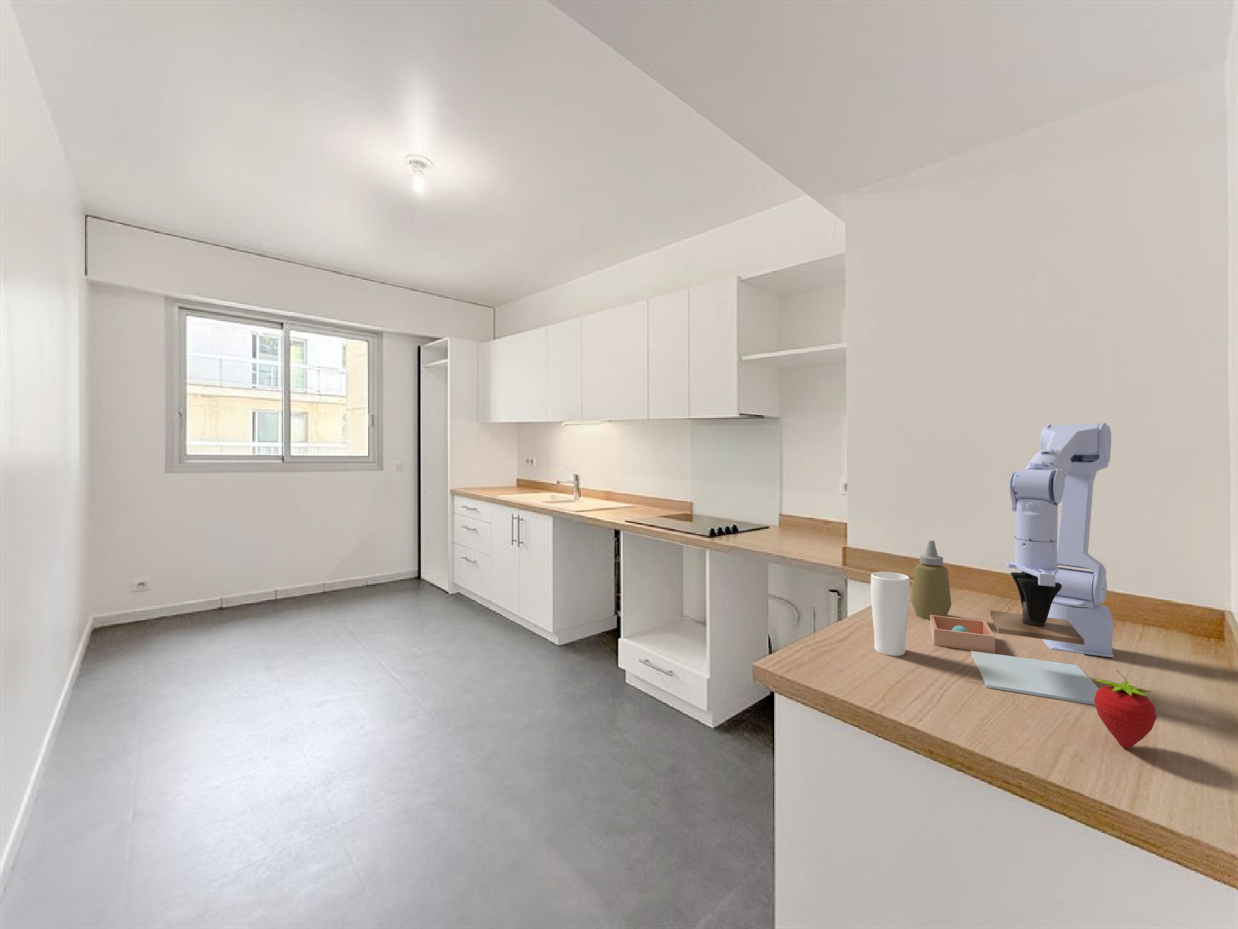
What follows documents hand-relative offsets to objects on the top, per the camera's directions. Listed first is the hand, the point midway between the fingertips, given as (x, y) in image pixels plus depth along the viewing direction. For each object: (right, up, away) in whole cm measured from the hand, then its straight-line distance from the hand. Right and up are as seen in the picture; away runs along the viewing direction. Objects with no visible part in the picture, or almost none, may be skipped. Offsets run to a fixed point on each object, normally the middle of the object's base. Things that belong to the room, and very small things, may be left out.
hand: (1034, 618), depth 90 cm
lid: (0, -2, 0) cm, 2 cm away
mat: (0, -10, 0) cm, 10 cm away
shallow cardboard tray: (-2, -10, +17) cm, 20 cm away
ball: (-2, -10, +17) cm, 19 cm away
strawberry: (-5, -11, -21) cm, 24 cm away
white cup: (-19, -10, +12) cm, 24 cm away
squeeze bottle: (+1, -10, +32) cm, 33 cm away
